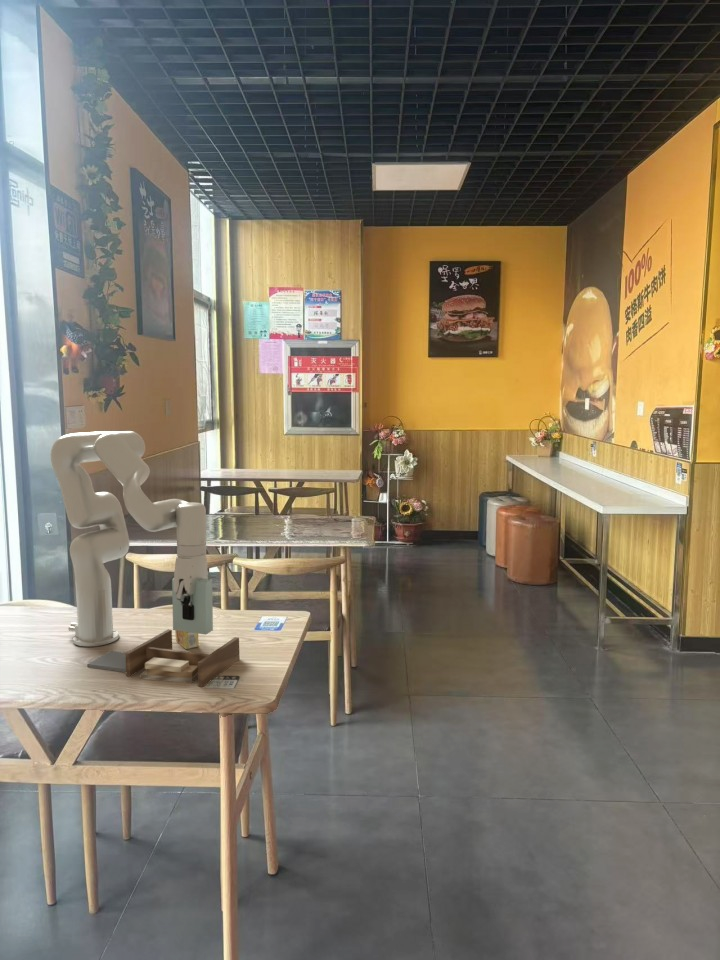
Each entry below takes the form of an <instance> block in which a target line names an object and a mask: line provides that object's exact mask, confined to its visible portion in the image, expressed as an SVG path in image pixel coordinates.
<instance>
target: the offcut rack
mask: <svg viewBox="0 0 720 960" xmlns="http://www.w3.org/2000/svg"><path fill="white" fill-rule="evenodd" d="M154 657H155V658H165V659H174V660H184V661H189V665H197V666H198V678H197V686H198V687H201V688H202V687H204V686H206V685H207V684H209V681H210V680H211V681H212V680H214V679H215V678H216V676H217V677H218V676H219V675H221V674H223V672H225V671H226V670H228V669H229V668H230V667H231V666H233V665H234V664H235V663H237V662H238V661H239V660H240V659H241V658H240V638H239V637H236V636H235V637H233V638H232V639H230V640H229V641H228V642H226V643H224V644H222V645H221V646H219V648H217V649H216V650H214V651H213V652H211V653H210V654H208V653H201V652H200V653H199V652H191V651H184V650H177V649H173V629H166V630H164V631H162V632H161V633H159V634H157V635H155V636H154V637H152V638H150V639H148V640H147V641H144V642H142V643H141V644H139V645H137V646H135V647H134V648H132V649H130V650H127V651H126V652H125V658H126V672H125V674H126V677H132V676H133V675H135V674H137V673H138V672H140V671H142V670H143V669H145V663H146V662H147V661H149V660H150V659H152V658H154ZM236 661H237V662H236ZM232 664H233V665H232ZM224 670H225V671H224ZM220 673H221V674H220ZM214 677H215V678H214ZM213 678H214V679H213ZM211 681H210V682H211Z"/></svg>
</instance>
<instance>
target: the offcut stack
mask: <svg viewBox="0 0 720 960" xmlns="http://www.w3.org/2000/svg"><path fill="white" fill-rule="evenodd" d="M144 669H145V670H144V671H142V672H141V673H140V674H139V675H140V676H139V677H140V679H143V680H152V681H153V680H155V681H156V680H157V681H165V682H167V681H168V682H177V683H178V682H179V683H188V684H190V683H191V684H192V683H194V682H195V681H196V680H198V666H197V665H189V661H184V660H174V659H165V658H155V657H154V658H152V659H150V660H149V661H147V662H146V663H145V668H144Z"/></svg>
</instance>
